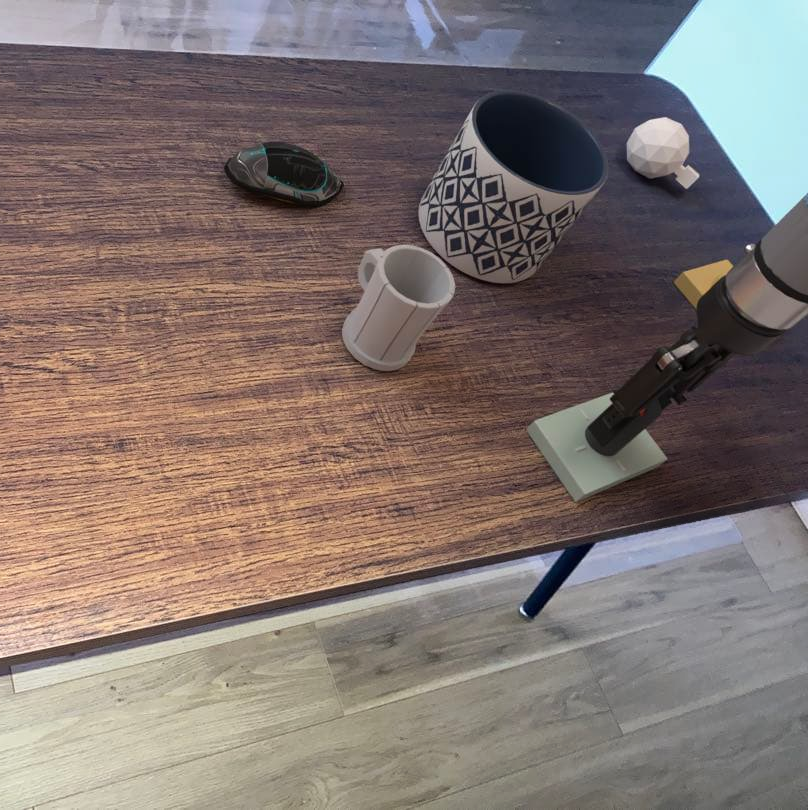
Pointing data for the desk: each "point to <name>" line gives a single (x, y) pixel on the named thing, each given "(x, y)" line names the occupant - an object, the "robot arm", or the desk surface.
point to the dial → (626, 430)
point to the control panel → (590, 451)
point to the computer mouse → (284, 174)
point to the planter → (511, 186)
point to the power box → (701, 280)
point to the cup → (396, 304)
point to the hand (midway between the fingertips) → (612, 430)
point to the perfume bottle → (661, 150)
